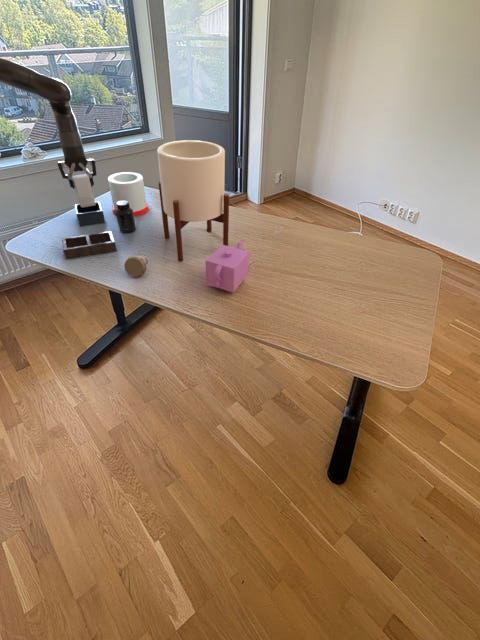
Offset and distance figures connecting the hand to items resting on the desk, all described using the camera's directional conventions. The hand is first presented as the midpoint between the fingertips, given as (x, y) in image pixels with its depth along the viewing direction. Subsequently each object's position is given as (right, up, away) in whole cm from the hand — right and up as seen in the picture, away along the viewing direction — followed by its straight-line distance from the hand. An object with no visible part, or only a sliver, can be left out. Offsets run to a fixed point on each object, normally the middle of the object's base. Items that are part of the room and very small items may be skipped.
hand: (82, 187), depth 142 cm
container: (+14, -3, +19) cm, 24 cm away
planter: (+47, -24, -3) cm, 53 cm away
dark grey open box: (0, -11, +9) cm, 14 cm away
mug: (+29, -37, -19) cm, 50 cm away
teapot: (+61, -41, -21) cm, 76 cm away
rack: (+7, -27, -9) cm, 30 cm away
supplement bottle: (+17, -17, +4) cm, 25 cm away
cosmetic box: (0, -6, +5) cm, 8 cm away
